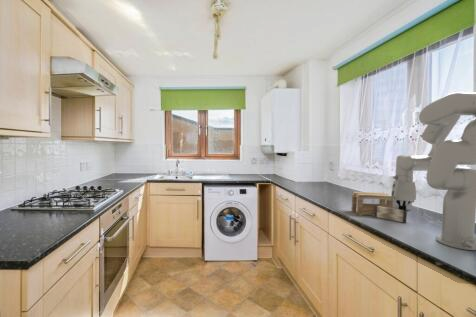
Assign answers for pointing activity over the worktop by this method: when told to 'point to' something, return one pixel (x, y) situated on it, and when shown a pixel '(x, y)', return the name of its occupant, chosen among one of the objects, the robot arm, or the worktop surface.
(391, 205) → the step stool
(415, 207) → the worktop surface
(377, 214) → the mottled brown block
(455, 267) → the worktop surface
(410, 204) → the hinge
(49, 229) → the worktop surface
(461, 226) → the robot arm
